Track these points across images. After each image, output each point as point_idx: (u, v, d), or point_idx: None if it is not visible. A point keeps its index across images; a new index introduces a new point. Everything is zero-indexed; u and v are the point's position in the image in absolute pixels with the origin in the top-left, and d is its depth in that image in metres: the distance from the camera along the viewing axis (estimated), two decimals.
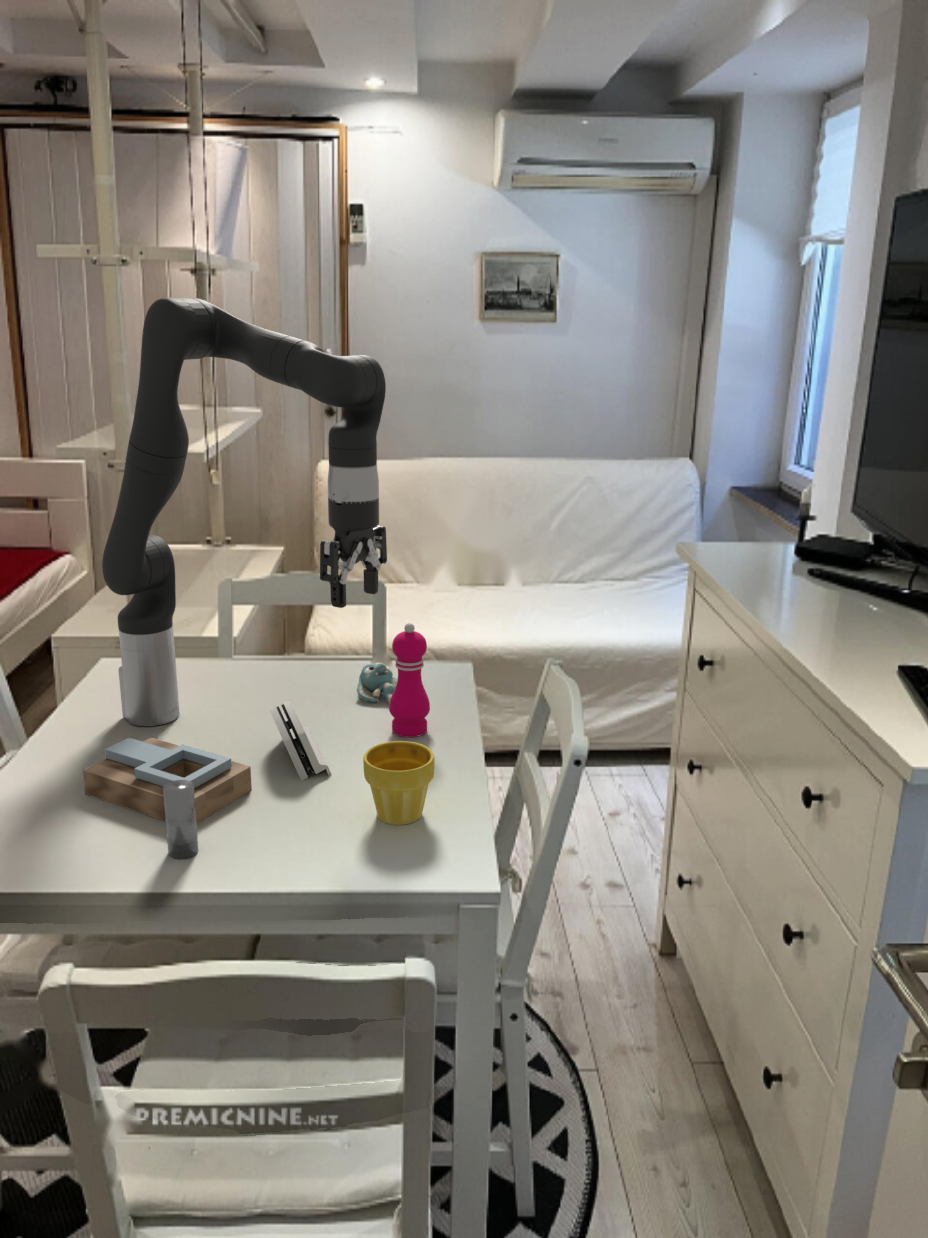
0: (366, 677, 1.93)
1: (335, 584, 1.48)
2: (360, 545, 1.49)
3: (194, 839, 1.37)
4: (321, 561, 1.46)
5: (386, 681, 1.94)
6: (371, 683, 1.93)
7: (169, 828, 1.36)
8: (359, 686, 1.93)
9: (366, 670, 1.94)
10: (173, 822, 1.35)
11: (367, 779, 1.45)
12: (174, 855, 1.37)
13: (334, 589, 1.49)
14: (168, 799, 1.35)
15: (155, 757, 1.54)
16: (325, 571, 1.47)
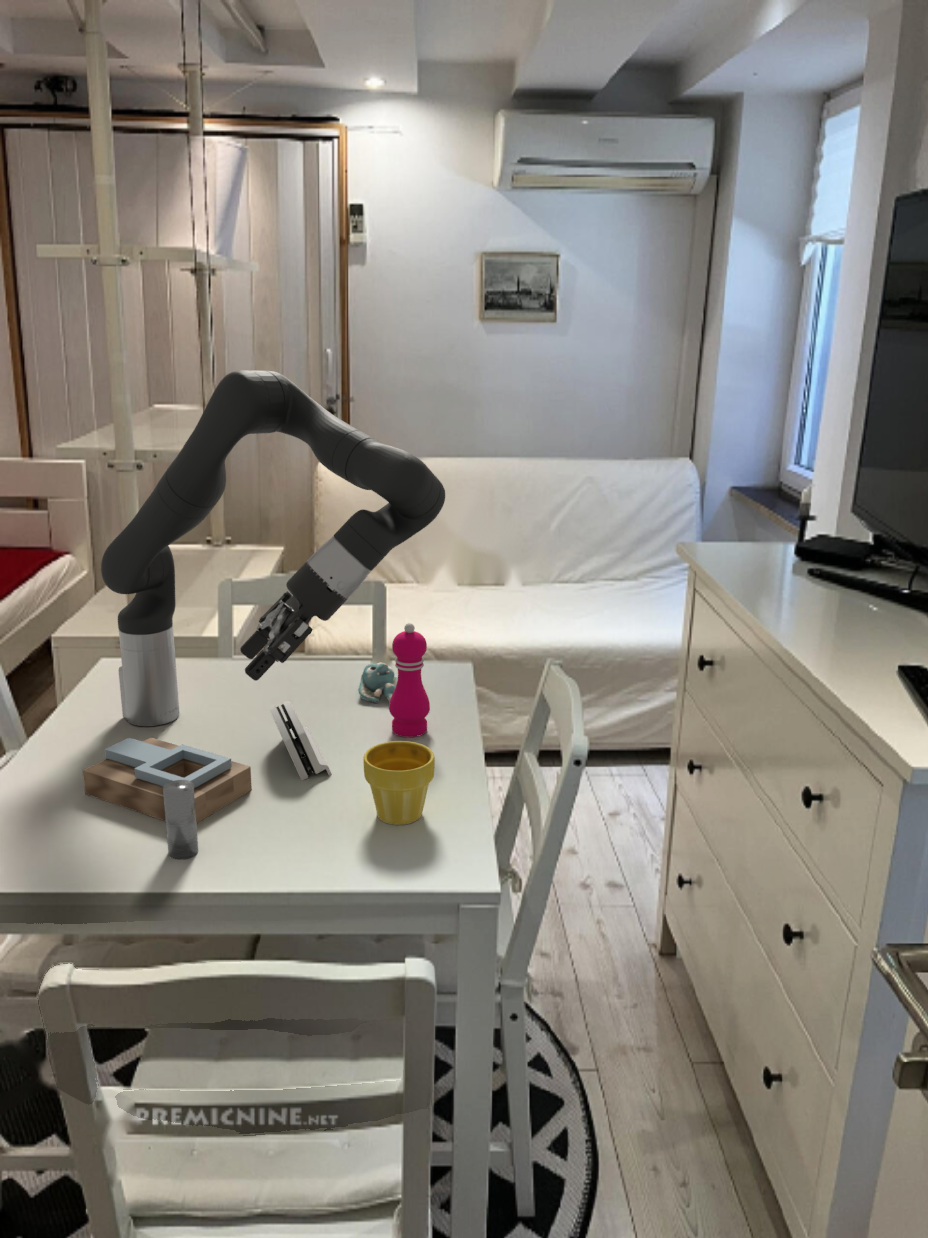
0: (368, 677, 1.93)
1: (272, 659, 1.31)
2: None
3: (194, 839, 1.37)
4: (285, 637, 1.29)
5: (388, 681, 1.94)
6: (373, 683, 1.93)
7: (169, 828, 1.36)
8: (360, 685, 1.93)
9: (368, 670, 1.94)
10: (173, 822, 1.35)
11: (367, 779, 1.45)
12: (174, 855, 1.37)
13: (264, 661, 1.31)
14: (168, 800, 1.35)
15: (155, 757, 1.54)
16: None
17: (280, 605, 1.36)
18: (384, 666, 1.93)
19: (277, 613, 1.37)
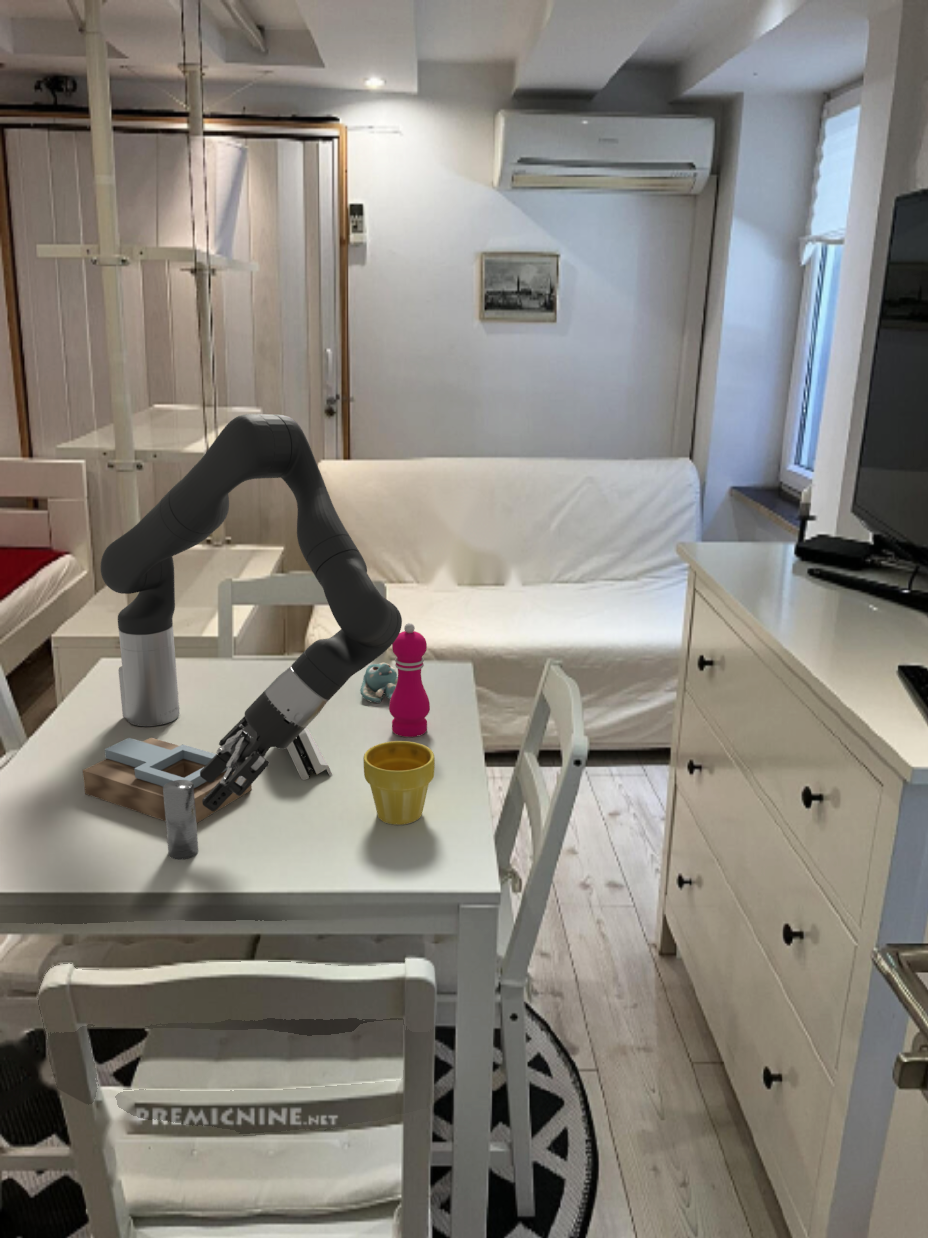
0: (370, 677, 1.93)
1: (229, 791, 1.32)
2: None
3: (194, 839, 1.37)
4: (241, 771, 1.30)
5: (390, 681, 1.93)
6: (375, 683, 1.93)
7: (169, 828, 1.36)
8: (363, 685, 1.93)
9: (370, 670, 1.94)
10: (173, 822, 1.35)
11: (367, 779, 1.45)
12: (174, 855, 1.37)
13: (221, 793, 1.32)
14: (168, 800, 1.35)
15: (155, 757, 1.54)
16: None
17: (239, 733, 1.37)
18: (386, 666, 1.92)
19: (236, 740, 1.38)
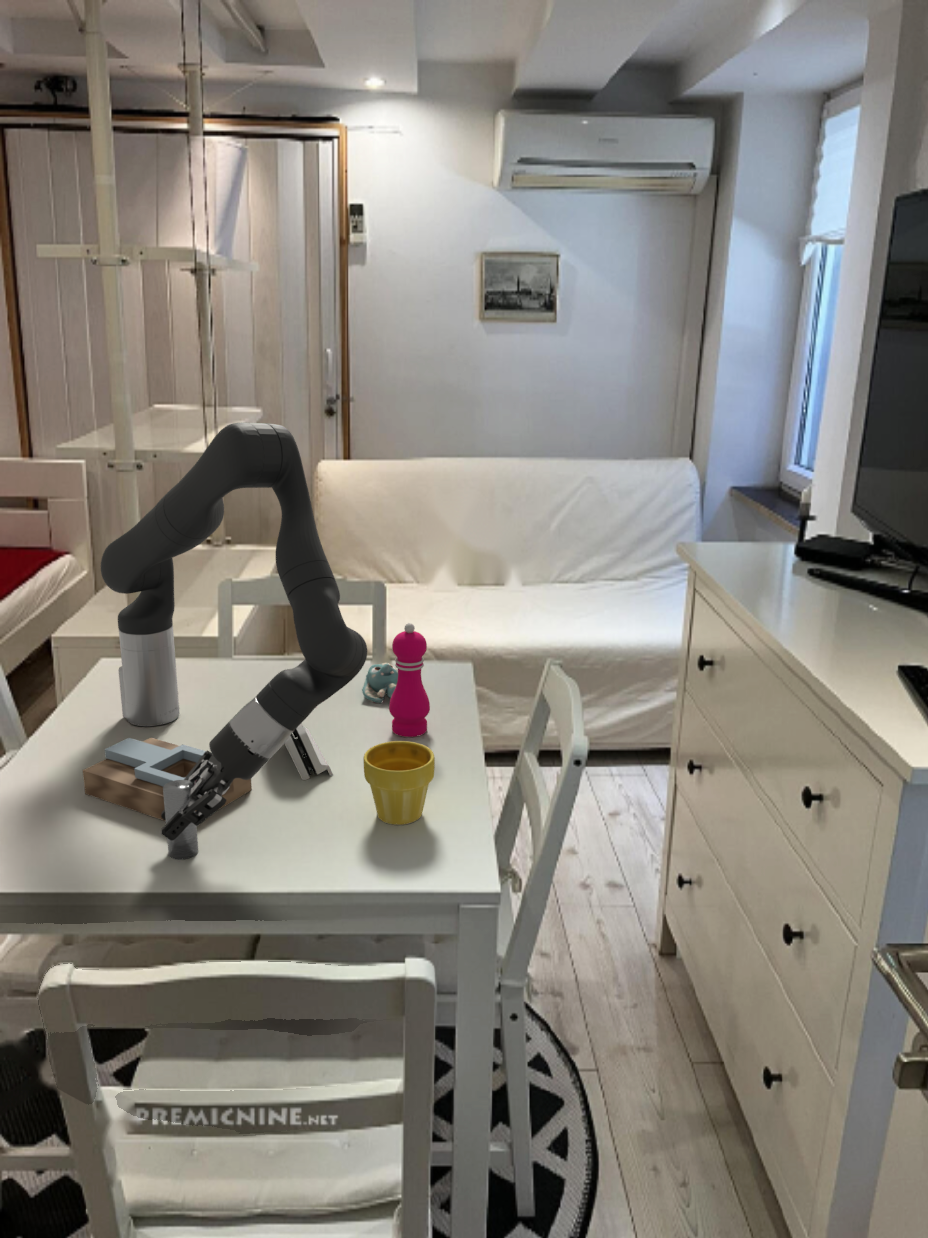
0: (372, 677, 1.93)
1: (187, 821, 1.34)
2: (227, 787, 1.37)
3: (194, 839, 1.37)
4: (197, 806, 1.31)
5: (392, 681, 1.93)
6: (377, 683, 1.93)
7: None
8: (364, 685, 1.93)
9: (372, 670, 1.94)
10: None
11: (367, 779, 1.45)
12: (174, 855, 1.37)
13: (180, 823, 1.34)
14: (168, 800, 1.34)
15: (155, 757, 1.54)
16: None
17: (204, 763, 1.37)
18: (388, 666, 1.92)
19: (201, 772, 1.37)
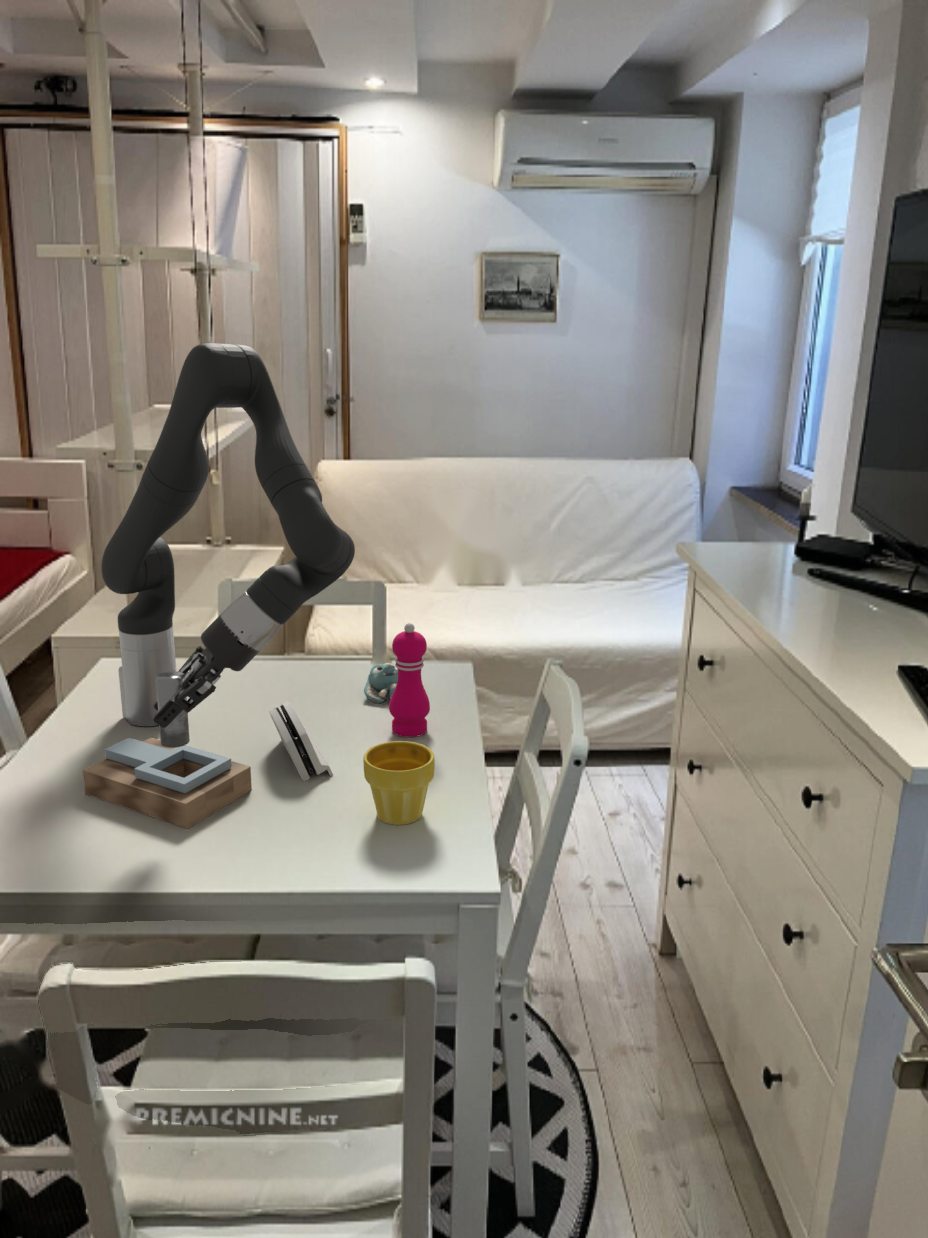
0: (374, 677, 1.93)
1: (178, 708, 1.39)
2: (218, 678, 1.41)
3: (185, 729, 1.42)
4: (188, 693, 1.36)
5: (394, 682, 1.93)
6: (379, 683, 1.93)
7: None
8: (367, 685, 1.93)
9: (374, 670, 1.94)
10: None
11: (367, 779, 1.45)
12: (166, 743, 1.42)
13: (171, 710, 1.39)
14: (160, 688, 1.39)
15: (155, 757, 1.54)
16: None
17: (196, 655, 1.42)
18: (390, 667, 1.92)
19: (193, 663, 1.42)
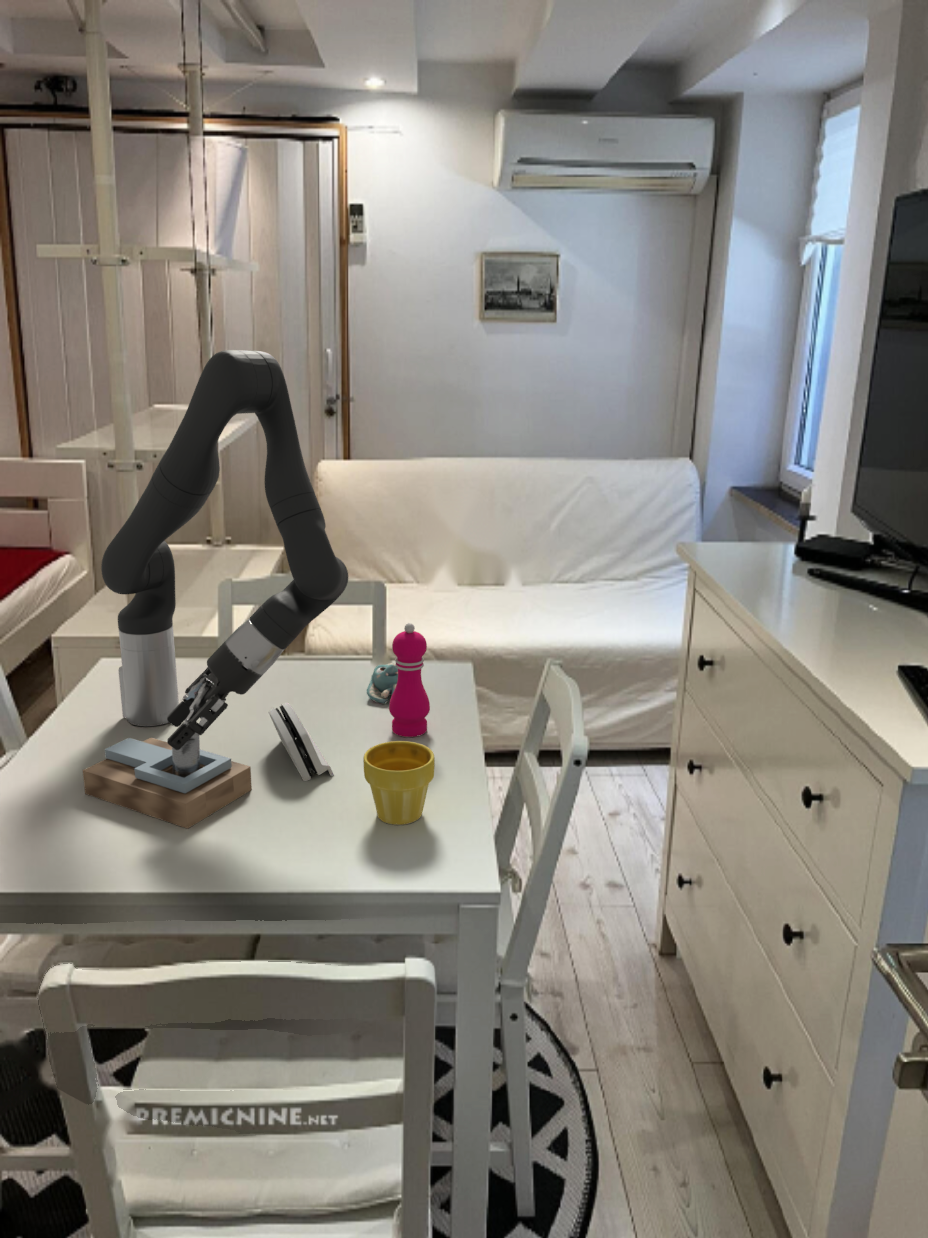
0: (376, 677, 1.93)
1: (191, 731, 1.45)
2: (223, 701, 1.50)
3: None
4: (202, 712, 1.43)
5: (396, 682, 1.93)
6: (382, 683, 1.93)
7: (175, 773, 1.51)
8: (369, 686, 1.93)
9: (377, 670, 1.94)
10: (179, 767, 1.50)
11: (367, 779, 1.45)
12: None
13: (184, 733, 1.46)
14: None
15: (155, 757, 1.54)
16: None
17: (202, 680, 1.50)
18: (393, 667, 1.92)
19: (199, 687, 1.51)
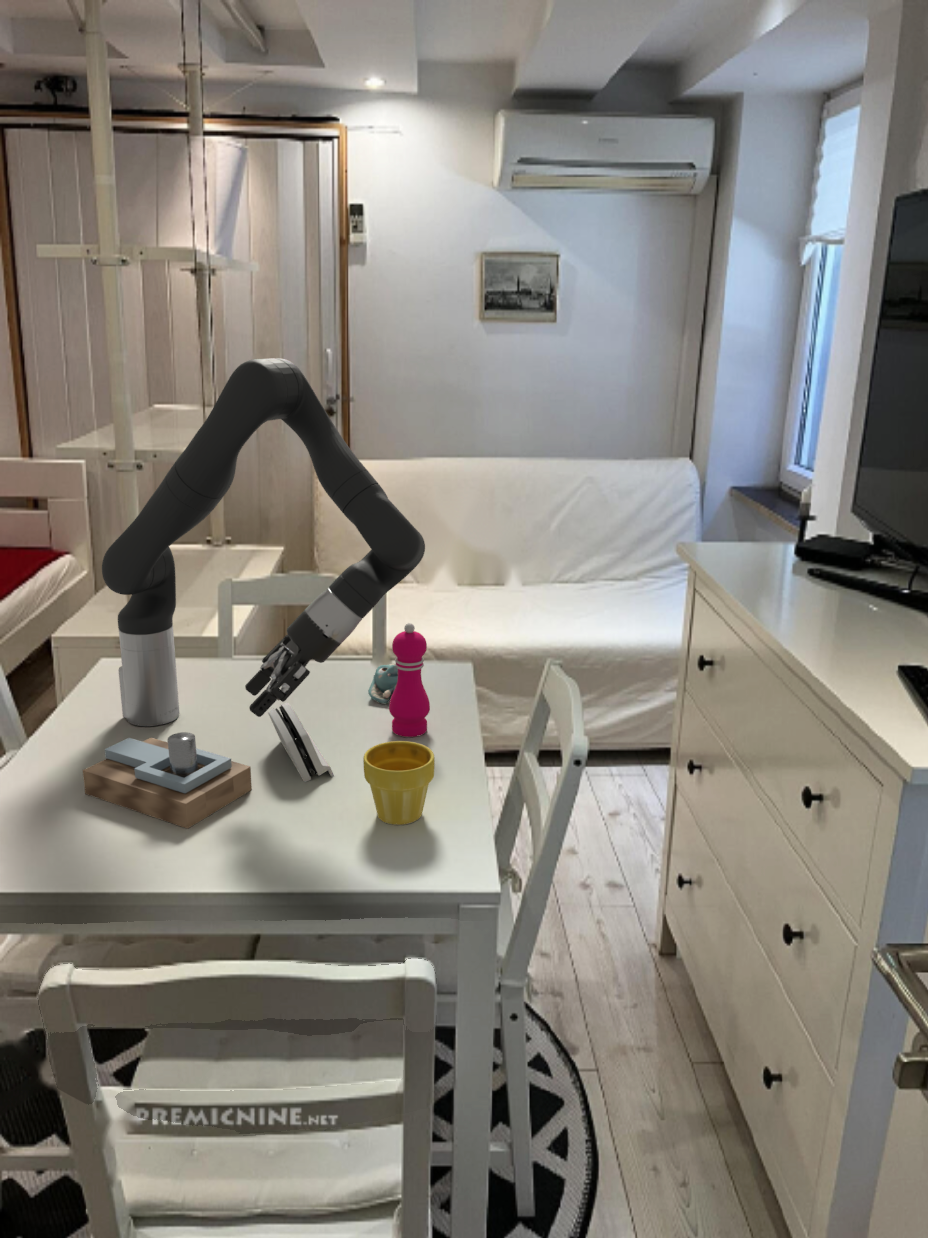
0: (378, 678, 1.93)
1: (273, 698, 1.47)
2: None
3: None
4: (285, 679, 1.45)
5: None
6: (383, 683, 1.92)
7: None
8: (371, 686, 1.93)
9: (379, 671, 1.93)
10: (176, 769, 1.50)
11: (367, 779, 1.45)
12: None
13: (267, 700, 1.48)
14: (171, 749, 1.49)
15: (155, 757, 1.54)
16: None
17: (281, 649, 1.52)
18: (395, 667, 1.92)
19: (278, 655, 1.53)
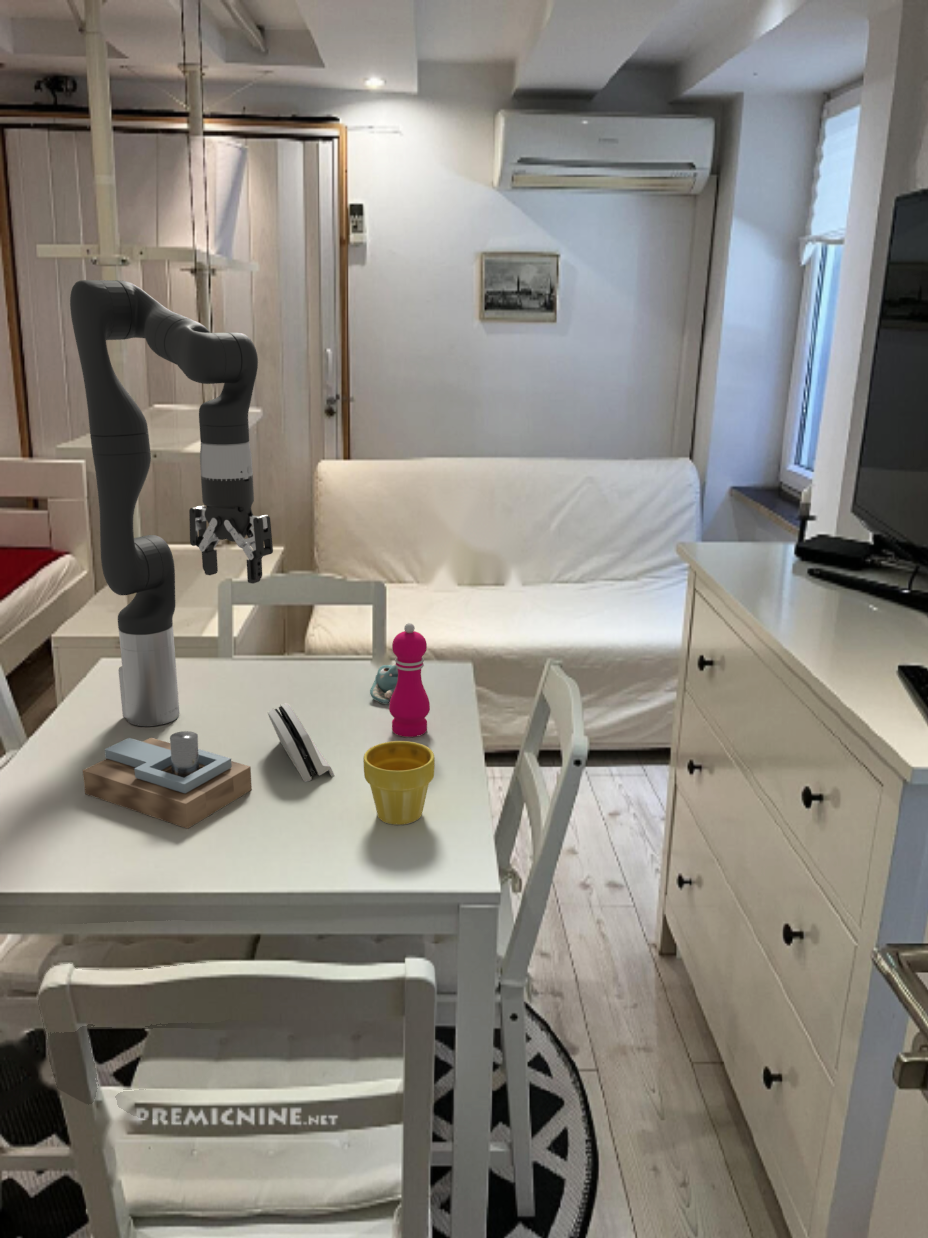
0: (380, 678, 1.92)
1: (260, 558, 1.50)
2: None
3: None
4: (262, 537, 1.48)
5: None
6: (385, 684, 1.92)
7: (173, 773, 1.51)
8: (373, 686, 1.93)
9: (381, 671, 1.93)
10: (176, 767, 1.51)
11: (367, 779, 1.45)
12: None
13: (257, 564, 1.50)
14: (173, 747, 1.50)
15: (155, 757, 1.54)
16: None
17: (214, 522, 1.50)
18: (397, 668, 1.92)
19: (216, 528, 1.51)
